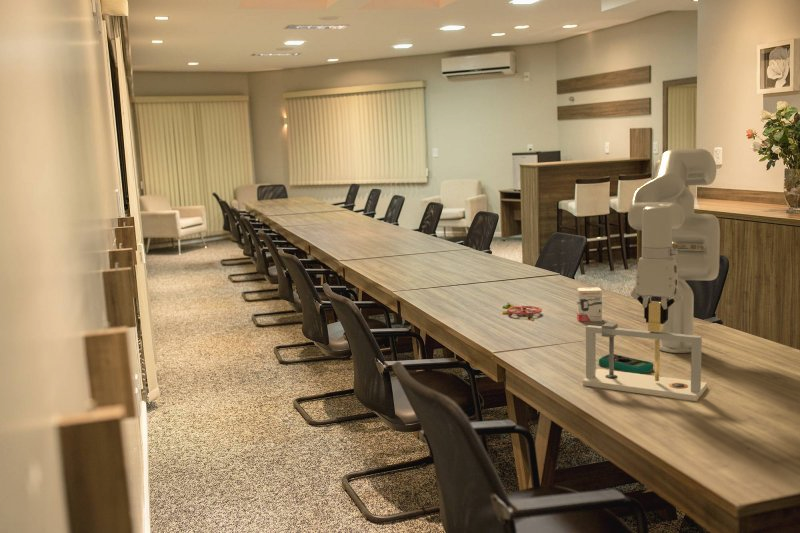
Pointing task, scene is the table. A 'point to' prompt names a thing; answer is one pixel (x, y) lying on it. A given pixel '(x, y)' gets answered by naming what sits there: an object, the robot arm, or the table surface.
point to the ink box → (589, 304)
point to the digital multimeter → (627, 364)
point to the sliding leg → (655, 326)
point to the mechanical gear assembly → (521, 310)
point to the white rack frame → (640, 381)
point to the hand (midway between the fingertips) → (656, 321)
